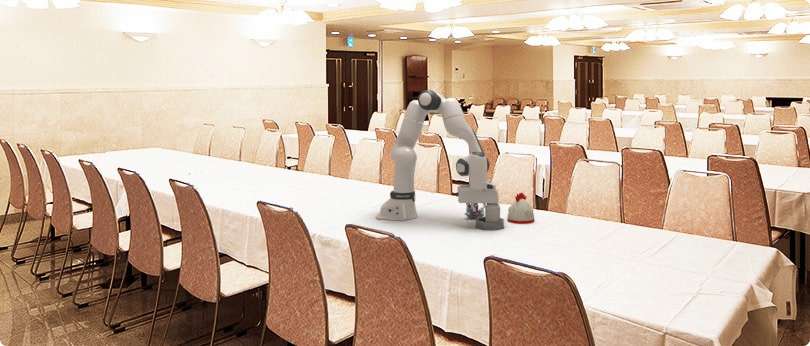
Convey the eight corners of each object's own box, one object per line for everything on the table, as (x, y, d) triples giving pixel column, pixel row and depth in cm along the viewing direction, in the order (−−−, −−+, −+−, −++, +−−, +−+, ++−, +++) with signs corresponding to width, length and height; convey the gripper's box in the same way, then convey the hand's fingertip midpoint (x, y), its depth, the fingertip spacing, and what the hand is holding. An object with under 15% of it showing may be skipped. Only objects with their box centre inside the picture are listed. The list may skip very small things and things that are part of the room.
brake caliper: (485, 216, 341) (471, 197, 342) (469, 227, 345) (455, 209, 346) (490, 211, 351) (476, 193, 352) (474, 223, 355) (461, 205, 356)
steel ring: (475, 229, 322) (475, 222, 322) (476, 223, 336) (476, 216, 335) (503, 230, 320) (503, 223, 319) (503, 223, 334) (503, 216, 333)
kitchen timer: (501, 221, 340) (501, 192, 338) (519, 216, 349) (519, 189, 347) (522, 225, 330) (522, 196, 328) (539, 221, 339) (540, 192, 336)
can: (489, 224, 333) (489, 201, 331) (502, 226, 329) (502, 202, 327) (482, 227, 327) (482, 203, 325) (495, 229, 323) (496, 205, 321)
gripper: (456, 185, 324) (457, 212, 326) (498, 185, 321) (498, 213, 323) (458, 183, 330) (458, 210, 333) (498, 183, 327) (498, 210, 329)
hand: (478, 211), depth 328 cm, fingers open, 2 cm apart
